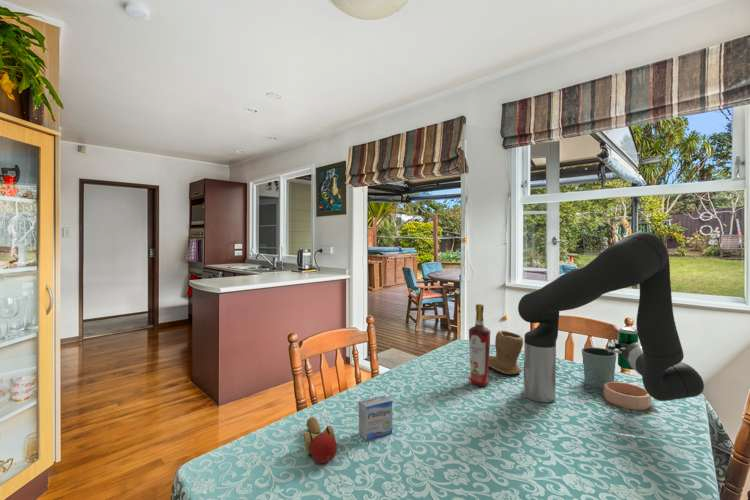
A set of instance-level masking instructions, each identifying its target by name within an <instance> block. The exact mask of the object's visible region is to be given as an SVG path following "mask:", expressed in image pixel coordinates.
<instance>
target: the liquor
mask: <svg viewBox="0 0 750 500" xmlns="http://www.w3.org/2000/svg"><path fill="white" fill-rule="evenodd" d="M484 306H485V305H484V304H483V303H481V304H480V303H475V313H476V314H475V325H474V326H472V327H470V328H469V329H468V345H469V346H468V347H469V362H470V363H469V364H470V365H469V366H470V367H469V368H470V377H469V379H468V380H469V381H470V382H471V383H472V385H474V386H476V385H477V387H485V386H487V385H488V384H489V383H490V379H489V368H490V366H489V356H490V350H491V349H490V348H491V330H490V329H489V328H487V327H485V325H484V323H485V322H484Z"/></svg>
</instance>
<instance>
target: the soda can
mask: <svg viewBox="0 0 750 500" xmlns="http://www.w3.org/2000/svg"><path fill="white" fill-rule="evenodd" d="M617 341H618V342H619V343H625V344H628V345H630V344H632V343H636V342H639V337H638V334H637V328H633V327H624V326H623V327H619V329H618V331H617ZM617 365H618V366H619V367H620V368H621V369H624V370H625V369H626V370H629V371H630V370H632V371H633V370H634V369H633V368H632V367H631V366H630V365H629V364H628V363H627V362H626V361H625V359H624V357H623V356H621V355H619V353H617ZM634 371H635V370H634Z"/></svg>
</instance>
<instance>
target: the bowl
mask: <svg viewBox="0 0 750 500" xmlns="http://www.w3.org/2000/svg"><path fill="white" fill-rule="evenodd" d="M603 392H604V398H605V399H606V400H607V401H608V402H610V403H612V404H614V405H617V406H620V407H619V408H621V407H623V408H622V409H629V410H636V411H642V410H646V409H649V408H650V405H651V404H652V397H651V396H650V395H649V394H648V393H647V391H646V390H645V387H642V386H640V385H637V384H632V383H629V382H623V381H615V380H614V382H606V383H605V384H604V389H603Z"/></svg>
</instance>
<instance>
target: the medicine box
mask: <svg viewBox="0 0 750 500" xmlns="http://www.w3.org/2000/svg"><path fill="white" fill-rule="evenodd" d="M392 433H393V400H392V399H390V398H389V397H388V396H386V395H381V396H376V397H372V398H368V399H364V400H363V399H362V400H360V401H358V434H359V435H360V436H361V438H363V439H364V441H366V442H368V441H371V440H370V439H372V440H375V439H378V438H381V437H385V436H387V435H391V434H392ZM384 435H385V436H384ZM380 436H381V437H380ZM377 437H378V438H377ZM374 438H375V439H374ZM367 440H368V441H367Z"/></svg>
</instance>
